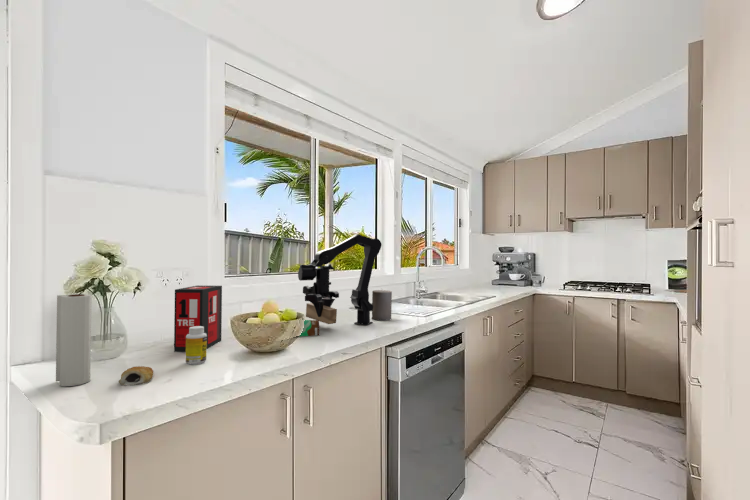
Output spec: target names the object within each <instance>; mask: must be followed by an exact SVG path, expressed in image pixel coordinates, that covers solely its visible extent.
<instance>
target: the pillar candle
mask: <svg viewBox="0 0 750 500" xmlns="http://www.w3.org/2000/svg"><path fill="white" fill-rule="evenodd" d="M371 293H372V295H371V297H372V299H371V304H372V305H373V310H372V311H371V319H372V320H374V321H390V319H391V320H392V296H393V291H391V290H384V289H376V290H372V292H371Z"/></svg>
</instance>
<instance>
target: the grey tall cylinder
mask: <svg viewBox="0 0 750 500" xmlns="http://www.w3.org/2000/svg"><path fill="white" fill-rule="evenodd" d="M91 338H92V294H82V293H80V294H65V295H61V294H59V295H58V294H57V295H56V337H55V339H56V343H55V344H56V345H55V348H56V349H55V351H56V353H55V355H56V356H55V382H58V383H59V386H61V387H73V386H74V387H75V386H80V385H84V384H86V383H89V382H90V381H91V355H92V354H91V349H92V347H91V346H92V339H91Z"/></svg>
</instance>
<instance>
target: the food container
mask: <svg viewBox="0 0 750 500" xmlns="http://www.w3.org/2000/svg"><path fill="white" fill-rule="evenodd" d="M304 320H305V321H304V328H303V331H302V333H301V335H300V336H299V337H313V336H315V337H316V336H320V321H318V320H314V319H304Z"/></svg>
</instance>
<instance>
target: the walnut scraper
mask: <svg viewBox="0 0 750 500" xmlns="http://www.w3.org/2000/svg"><path fill="white" fill-rule="evenodd" d="M305 306H306V307H305V308H306V309H305V318H309V319H310V320H318V321H319V323H320V322H321V323H324V324H326V325H333V324H336V323H337V314H338V312H337V311H338V309H337V308H336V307H335V308H334V307H332V306H331V307H328V306H324V305H323V309H322V313H321V317H318V315H317V312H316V309H315V307H314V305H313V304H312V303H311V302H308V303H306V305H305Z"/></svg>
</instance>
